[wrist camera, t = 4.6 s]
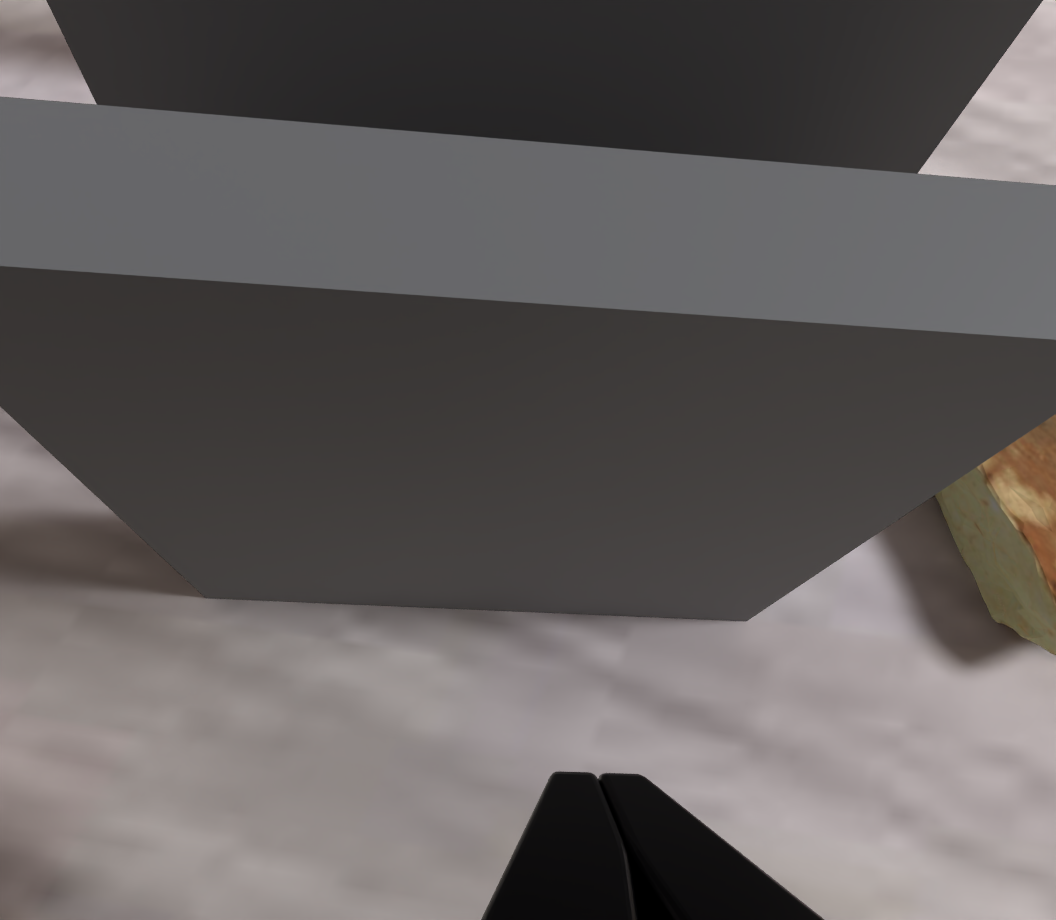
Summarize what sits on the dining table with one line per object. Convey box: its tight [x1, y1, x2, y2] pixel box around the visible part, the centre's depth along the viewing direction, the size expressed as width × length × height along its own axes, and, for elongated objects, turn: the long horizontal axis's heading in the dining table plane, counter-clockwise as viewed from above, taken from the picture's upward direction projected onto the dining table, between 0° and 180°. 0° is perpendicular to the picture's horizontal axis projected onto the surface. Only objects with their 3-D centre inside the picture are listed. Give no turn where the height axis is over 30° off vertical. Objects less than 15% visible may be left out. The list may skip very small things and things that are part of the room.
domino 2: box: [47, 0, 1043, 174], centre depth 13 cm, size 2×10×10 cm, turn 89°
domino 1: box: [0, 97, 1056, 621], centre depth 11 cm, size 2×10×10 cm, turn 89°
